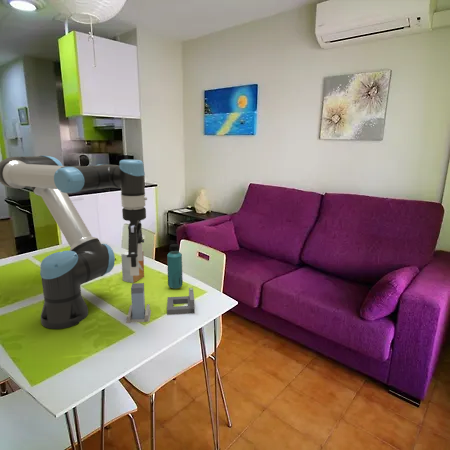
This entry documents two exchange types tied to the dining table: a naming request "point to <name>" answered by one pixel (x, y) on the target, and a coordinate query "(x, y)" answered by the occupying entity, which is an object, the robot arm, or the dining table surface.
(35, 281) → the dining table surface
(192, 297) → the port
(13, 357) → the dining table surface
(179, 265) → the beverage bottle
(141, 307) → the plug
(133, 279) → the small box
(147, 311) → the grey u-shaped block
